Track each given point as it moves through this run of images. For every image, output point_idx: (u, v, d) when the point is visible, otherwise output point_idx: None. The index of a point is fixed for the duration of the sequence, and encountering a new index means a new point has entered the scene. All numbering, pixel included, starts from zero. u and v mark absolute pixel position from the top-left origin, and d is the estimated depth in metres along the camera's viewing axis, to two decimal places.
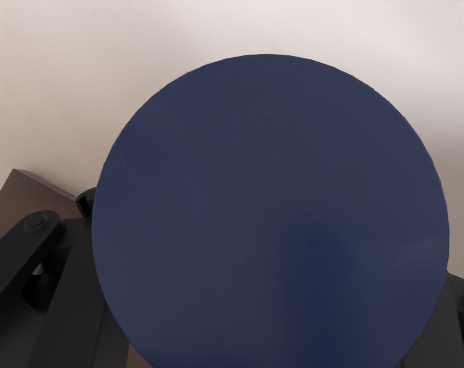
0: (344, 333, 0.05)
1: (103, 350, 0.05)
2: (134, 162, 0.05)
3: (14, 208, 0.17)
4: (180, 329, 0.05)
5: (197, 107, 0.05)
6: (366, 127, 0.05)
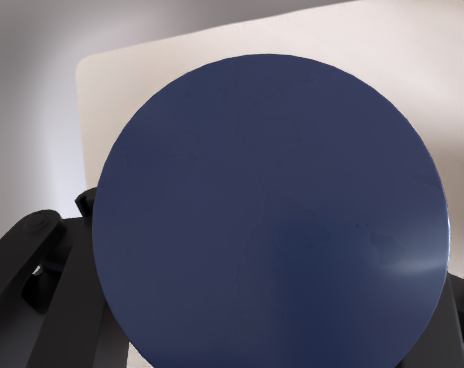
0: (345, 333, 0.05)
1: (103, 350, 0.05)
2: (134, 162, 0.05)
3: None
4: (181, 329, 0.05)
5: (198, 107, 0.05)
6: (367, 127, 0.05)
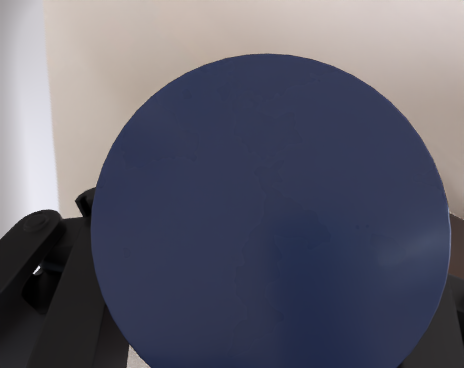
0: (345, 335, 0.04)
1: (103, 350, 0.05)
2: (133, 162, 0.05)
3: None
4: (179, 330, 0.05)
5: (197, 107, 0.05)
6: (367, 127, 0.05)
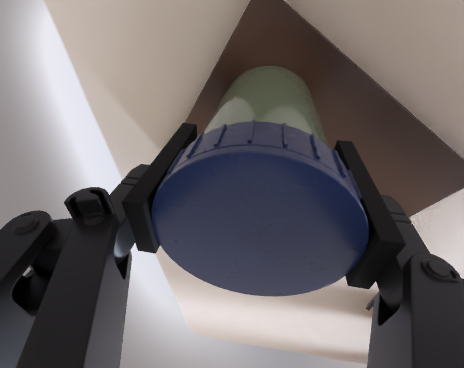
0: (281, 283, 0.10)
1: (94, 351, 0.05)
2: (174, 204, 0.08)
3: (259, 44, 0.15)
4: (204, 268, 0.10)
5: (219, 182, 0.07)
6: (337, 220, 0.07)
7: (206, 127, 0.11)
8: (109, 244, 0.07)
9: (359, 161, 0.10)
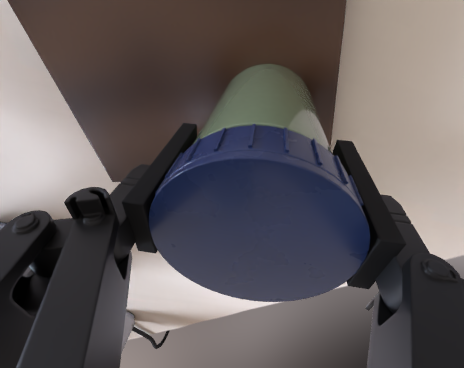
0: (280, 289, 0.10)
1: (94, 351, 0.05)
2: (172, 209, 0.08)
3: None
4: (202, 273, 0.10)
5: (219, 188, 0.07)
6: (338, 226, 0.07)
7: None
8: (109, 244, 0.07)
9: (359, 161, 0.10)
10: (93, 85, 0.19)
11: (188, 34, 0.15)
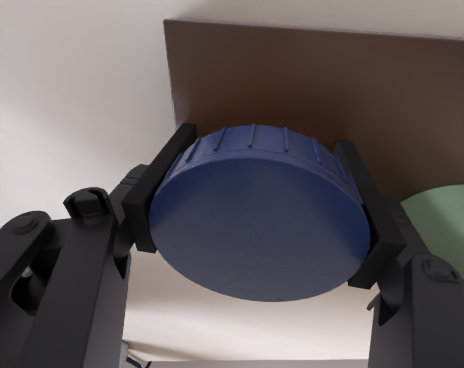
0: (280, 289, 0.10)
1: (93, 351, 0.05)
2: (172, 209, 0.08)
3: None
4: (202, 273, 0.10)
5: (218, 188, 0.07)
6: (338, 226, 0.07)
7: None
8: (108, 244, 0.07)
9: (359, 161, 0.10)
10: None
11: (409, 135, 0.12)
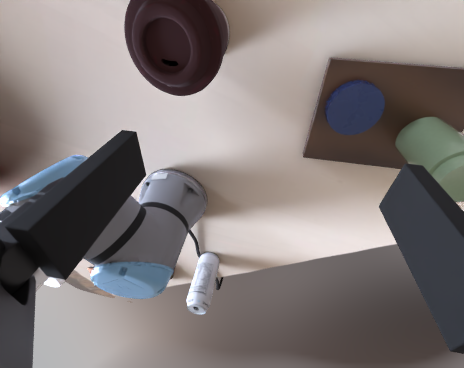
0: (359, 127, 0.35)
1: None
2: (339, 99, 0.33)
3: None
4: (337, 124, 0.35)
5: (353, 92, 0.32)
6: (378, 101, 0.32)
7: None
8: None
9: (442, 192, 0.09)
10: None
11: (409, 97, 0.33)
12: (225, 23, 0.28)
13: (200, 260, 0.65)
